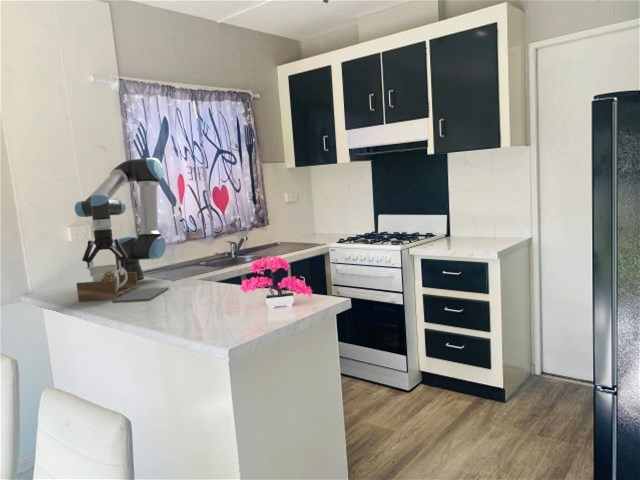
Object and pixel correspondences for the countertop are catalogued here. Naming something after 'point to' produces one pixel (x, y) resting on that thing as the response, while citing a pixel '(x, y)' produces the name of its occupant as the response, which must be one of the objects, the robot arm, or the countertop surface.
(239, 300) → the countertop surface
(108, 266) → the pitcher
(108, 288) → the walnut cradle
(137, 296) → the rubber mat
